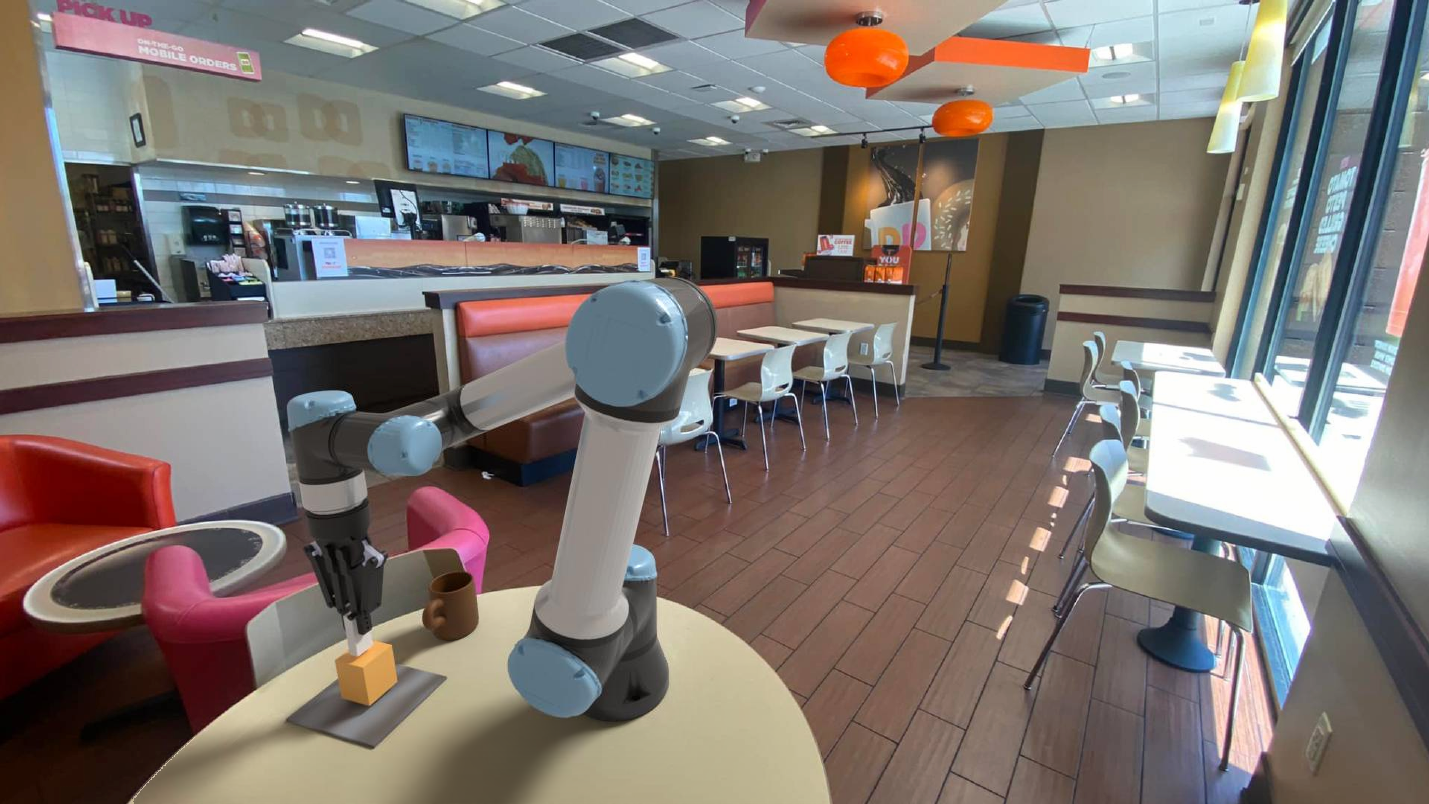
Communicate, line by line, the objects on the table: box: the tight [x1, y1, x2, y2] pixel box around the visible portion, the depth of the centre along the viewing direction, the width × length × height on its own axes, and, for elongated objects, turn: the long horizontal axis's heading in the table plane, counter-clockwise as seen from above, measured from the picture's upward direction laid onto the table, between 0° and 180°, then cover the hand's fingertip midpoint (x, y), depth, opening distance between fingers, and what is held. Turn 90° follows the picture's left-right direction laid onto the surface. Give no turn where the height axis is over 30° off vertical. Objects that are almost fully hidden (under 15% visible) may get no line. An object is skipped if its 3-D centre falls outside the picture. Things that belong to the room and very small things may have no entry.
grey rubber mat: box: [285, 663, 448, 749], centre depth 88 cm, size 16×14×7 cm
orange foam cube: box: [334, 639, 397, 706], centre depth 88 cm, size 5×5×7 cm
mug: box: [421, 570, 480, 641], centre depth 103 cm, size 12×8×9 cm, turn 172°
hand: (361, 649), depth 87 cm, fingers closed
